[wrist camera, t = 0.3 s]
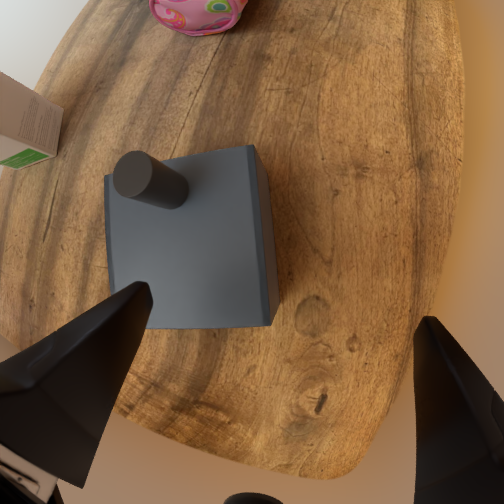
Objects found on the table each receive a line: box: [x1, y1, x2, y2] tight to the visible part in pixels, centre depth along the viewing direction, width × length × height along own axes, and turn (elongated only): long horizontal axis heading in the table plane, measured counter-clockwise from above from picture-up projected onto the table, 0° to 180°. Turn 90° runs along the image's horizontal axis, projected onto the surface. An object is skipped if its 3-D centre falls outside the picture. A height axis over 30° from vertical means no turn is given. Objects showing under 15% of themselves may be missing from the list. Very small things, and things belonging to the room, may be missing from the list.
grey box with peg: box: [104, 145, 280, 329], centre depth 18 cm, size 12×10×10 cm
